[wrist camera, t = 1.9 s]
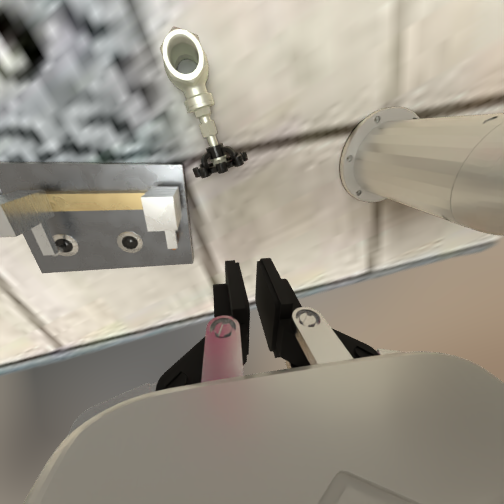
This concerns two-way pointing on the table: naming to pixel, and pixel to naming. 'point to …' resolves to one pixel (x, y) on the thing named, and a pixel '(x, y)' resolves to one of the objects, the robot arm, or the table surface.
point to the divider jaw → (163, 212)
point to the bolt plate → (90, 214)
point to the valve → (197, 98)
